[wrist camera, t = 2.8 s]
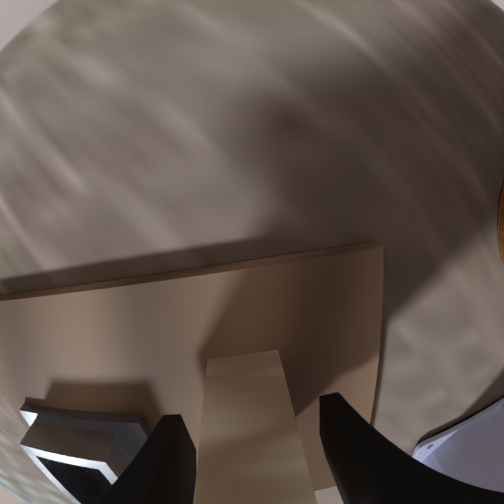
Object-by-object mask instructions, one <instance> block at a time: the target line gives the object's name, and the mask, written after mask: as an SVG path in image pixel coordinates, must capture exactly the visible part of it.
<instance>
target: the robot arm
mask: <svg viewBox="0 0 504 504" xmlns="http://www.w3.org/2000/svg"><path fill="white" fill-rule="evenodd" d="M319 434H320V438H321V442H322V446H323V450H324V454H325V457H326V460H327V463H328V465H329V468H330V470H331V473H332V475H333V478H334V480H335V483H336V485H337V488H338V490H339V493H340V495H341V498H342V500H343V503H344V504H504V398H502V399H501V400H499V401H498V402H496V403H494V404H493V405H491V406H490V407H488V408H486V409H485V410H483V411H481V412H480V413H478V414H476V415H474V416H473V417H471V418H469V419H467V420H465V421H463V422H462V423H460V424H458V425H456V426H454V427H452V428H450V429H448V430H446V431H444V432H442V433H440V434H438V435H435V436H433V437H431V438H429V439H427V440H424V441H422V442H421V443H419V444H418V445H417V446H416V448H415V450H414V453H413V455H412V457H411V456H410V455H408V454H407V453H405V452H404V451H402V450H401V449H400V448H398V447H397V446H396V445H394V444H393V443H392V442H390V441H389V440H388V439H387V438H385V437H384V436H383V435H382V434H381V433H379V432H378V431H377V430H376V429H375V428H374V427H373V426H371V425H370V424H369V423H368V422H367V421H366V420H365V419H364V418H363V417H362V416H361V415H360V414H359V413H358V412H357V411H356V410H355V409H354V408H353V407H352V406H351V405H350V404H349V403H348V402H347V401H346V399H345V398H344V397H343V396H342V395H341V394H340V393H339V392H335V393H330V394H326V395H322V396H319ZM196 475H197V460H196V448H195V446H194V443H193V441H192V439H191V437H190V435H189V432H188V430H187V428H186V425H185V423H184V421H183V418H182V416H181V414H170V415H163V416H162V417H161V419H160V420H159V422H158V423H157V425H156V426H155V428H154V429H153V431H152V432H151V434H150V436H149V437H148V439H147V440H146V442H145V443H144V444H143V446H142V447H141V449H140V450H139V452H138V453H137V454H136V456H135V457H134V459H133V460H132V461H131V463H130V464H129V465H128V466H127V468H126V469H125V470H124V471H123V473H122V474H121V475H120V476H119V477H118V479H117V480H116V481H115V482H114V483H113V484H112V485H111V486H110V488H109V489H108V490H107V491H106V492H105V493H104V494H103V495H102V496H101V497H100V498H99V499H97V500H96V501H95V502H94V503H93V504H193V500H194V492H195V484H196Z"/></svg>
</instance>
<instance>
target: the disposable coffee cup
mask: <svg viewBox="0 0 504 504" xmlns="http://www.w3.org/2000/svg"><path fill="white" fill-rule="evenodd" d="M498 242H499V249H500V253H501V257H502V260H503V262H504V183H503V187H502V192H501V197H500V202H499V210H498Z"/></svg>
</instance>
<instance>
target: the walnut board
mask: <svg viewBox="0 0 504 504" xmlns="http://www.w3.org/2000/svg"><path fill="white" fill-rule="evenodd" d="M383 282H384V247H383V246H381V245H379V244H377V243H375V242H374V241H372V242H365V243H359V244H353V245H346V246H340V247H334V248H327V249H321V250H314V251H308V252H301V253H295V254H288V255H281V256H275V257H268V258H262V259H255V260H248V261H242V262H235V263H228V264H221V265H215V266H208V267H201V268H194V269H187V270H180V271H173V272H167V273H160V274H153V275H146V276H139V277H132V278H124V279H117V280H110V281H103V282H96V283H89V284H81V285H74V286H67V287H60V288H52V289H45V290H37V291H30V292H22V293H15V294H7V295H0V389H1V391H2V392H3V394H4V396H5V397H6V399H7V401H8V402H9V404H10V406H11V407H12V409H13V410H14V412H15V413H16V415H17V416H18V418H19V419H20V421H21V422H22V424H23V425H24V426H25V428H26V429H27V431H28V430H29V428H30V426H29V424H28V423H27V421H26V420H25V418H24V417H23V415H22V414H21V412H20V411H19V410H20V408H21V407H22V405H23V404H24V403H26V404H32V405H39V406H45V407H53V408H61V409H70V410H81V411H94V412H113V413H142V414H143V416H144V418H145V420H146V422H147V424H148V426H149V428H150V429H151V431H153V429H154V428H155V426H156V425H157V423H158V422H159V420H160V419H161V417H162V416H163V415H170V414H181V416H182V418H183V421H184V423H185V425H186V428H187V430H188V432H189V435H190V437H191V439H192V441H193V443H194V446H195V448H196V460H197V463H198V451H199V439H200V428H201V417H202V407H203V397H204V387H205V377H206V368H207V359H213V358H222V357H230V356H238V355H245V354H252V353H259V352H265V351H272V350H278V352H279V355H280V359H281V363H282V367H283V371H284V375H285V379H286V383H287V387H288V391H289V395H290V399H291V403H292V407H293V410H294V414H295V418H296V422H297V426H298V430H299V434H300V438H301V442H302V446H303V450H304V454H305V458H306V462H307V466H308V470H309V473H310V477H311V481H312V485H313V489H314V491H316V490H321V489H325V488H329V487H333V486H337V485H336V483H335V480H334V478H333V475H332V473H331V470H330V468H329V465H328V463H327V460H326V457H325V454H324V450H323V446H322V442H321V438H320V434H319V396H322V395H326V394H330V393H335V392H339V393H340V394H341V395H342V396H343V397H344V398H345V399H346V401H347V402H348V403H349V404H350V405H351V406H352V407H353V408H354V409H355V410H356V411H357V412H358V413H359V414H360V415H361V416H362V417H363V418H364V419H365V420H366V421H367V422H368V423H369V424H370V420H371V414H372V408H373V401H374V394H375V387H376V380H377V371H378V362H379V352H380V341H381V328H382V311H383ZM196 477H197V475H196ZM195 491H196V484H195ZM193 503H195V492H194V500H193Z"/></svg>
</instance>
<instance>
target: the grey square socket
mask: <svg viewBox="0 0 504 504" xmlns="http://www.w3.org/2000/svg"><path fill="white" fill-rule="evenodd" d="M19 411H20V412H21V414H22V415H23V417H24V418H25V420H26V421H27V423H28V424H29V426H30V428H29V430H28V431H27V433H26V434H25V436H24V438H23V439H22V441H21V443H20V446H21V447H22V448H23V449H24V451H25V452H26V453H27V454H28V455H29V457H30V458H31V459H32V460H33V461H34V462H35V464H36V465H37V466H38V467H39V468H40V469H41V470H42V471H43V473H44V474H45V475H46V476H47V477H48V478H49V479H50V480H51V481H52V482H53V483H54V484H55V485H56V486H57V487H58V488H59V489H60V490H61V491H62V492H63V493H64V494H65V495H66V496H67V497H68V498H69V499H70V500H71V501H72V502H73V503H74V504H93V503H94V502H95V501H96V500H97V499H99V498H100V497H101V496H102V495H103V494H104V493H105V492H106V491H107V490H108V489H109V488H110V486H111V485H112V484H113V483H114V482H115V481H116V480H117V479H118V477H119V476H120V475H121V474H122V473H123V471H124V470H125V469H126V468H127V466H128V465H129V464H130V463H131V461H132V460H133V459H134V457H135V456H136V454H137V453H138V452H139V450H140V449H141V447H142V446H143V444H144V443H145V442H146V440H147V439H148V437H149V436H150V434H151V432H152V431H151V429H150V428H149V426H148V424H147V422H146V420H145V418H144V416H143V414H142V413H113V412H94V411H81V410H70V409H61V408H53V407H45V406H39V405H32V404H26V403H24V404H23V405H22V407H21V408H20V410H19Z"/></svg>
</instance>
